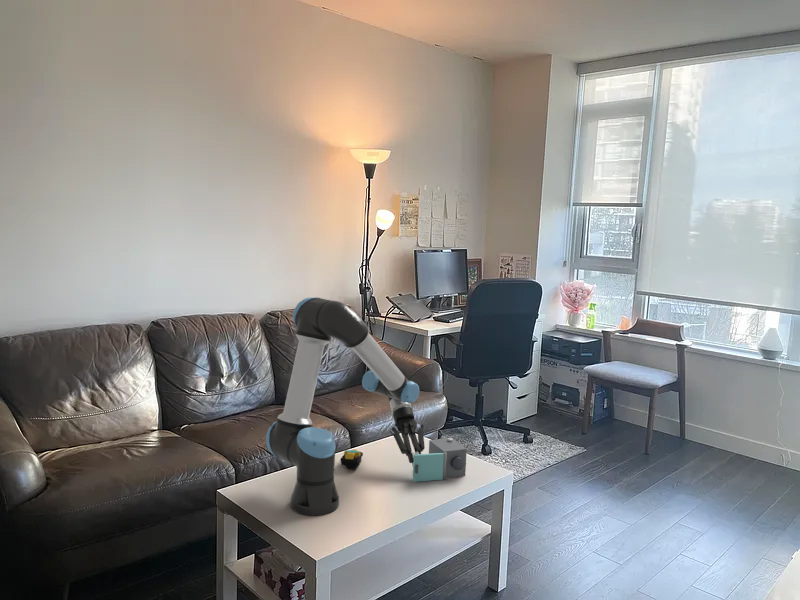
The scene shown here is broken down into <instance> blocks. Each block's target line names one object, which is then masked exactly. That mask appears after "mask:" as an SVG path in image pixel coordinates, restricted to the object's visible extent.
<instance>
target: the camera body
mask: <svg viewBox="0 0 800 600" xmlns="http://www.w3.org/2000/svg"><path fill="white" fill-rule="evenodd" d="M444 452H446V453H447V458H446V478H445V479H452V478H457V477H458V478H459V477H465V476H466V470H467V448H466V447H465V446H463V445H462V444H460V443H459V442H458V441H456V440H455V439H454V438H452V437H447V438H446V437H445V438H439V439H438V438H436V439H429V441H428V454H432V453H444Z"/></svg>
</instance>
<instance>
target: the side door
mask: <svg viewBox="0 0 800 600" xmlns="http://www.w3.org/2000/svg"><path fill="white" fill-rule="evenodd" d="M446 458H447V453H446V452H444V453H432V454H429V453H421V454H415V455H414V464H413V466H412V468H413V471H412V481H413V482H428V481H440V480H441V481H445V480H446V479H447V478H446Z"/></svg>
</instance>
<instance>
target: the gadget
mask: <svg viewBox="0 0 800 600" xmlns="http://www.w3.org/2000/svg"><path fill="white" fill-rule="evenodd" d="M363 456H364V452H362V451H360V450H358V449H356V448H354V449H350V450H349V449H346V450H344V453H343V455H342V456H341V457H340V460H339V461H340V466H343V467H345V468H346V469H355V468H357V467H359V466H360V464H361V463H362V457H363Z"/></svg>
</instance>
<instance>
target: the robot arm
mask: <svg viewBox="0 0 800 600" xmlns="http://www.w3.org/2000/svg"><path fill="white" fill-rule="evenodd" d="M292 322H293V323H294V326H295V327H296V331H295V337H296V338H297V339H298V344H297V347H296V353H295V358H294V361H293V366H292V371H291V375H290V381H289V385H288V389H287V394H286V397H285V401H284V408H283V412H282V413H280V414H278V415H277V418H276V421H274V422H273V423H272V425H270V426H269V428H268V429H267V432H266V434H265V443H266V448H267V450H268V451H269V452H270V453H271V454H272V455H274V456H275V458H277V459H279V460H281V461H284V462H286V463H288V464H290V465H292V466H295V467H296V482H295V485H294V487H293V491H292V494H291V497H290V508H291V509H292V511H294V512H295V513H298V514H300V515H303V516H323V515H326V514H330V513H332V512H334V511H335V510H337V509H338V507H339V505H340V496H339V493H338V490H337V486H336V483H335V462H336V461H335V460H336V442H335V436H334V435H333V433H332V432H331V431H329V430H327V429H325V428H322V427H315V426H314V427H313V421H312V419H311V417H310V414H311V409H312V405H313V401H314V397H315V396H314V395H315V392H316V386H317V381H318V378H319V372H320V368H321V364H322V360H323V359H322V358H323V354H324V349H325V346H326V345H328V344H329V343H330V342H331V339H332V338H333V339H335V340H337V341H339V342H341V343H342V344H343V346H345V348H348V349H352V351H353V352H354V353H355V354H356V355H357V356H358V357H359V359H361V361H362V362H363V363H364V364H365V365H366V367H368V369H369V370H368V371H366V372H365V373H364V374H363V376H362V380H361V385H362V387H363V389H364V390H365V391H368V392H370V393H375V394H378V395H381V396H385V397H387V398H388V402H389V406H390V410H391V412H392V418H393V420H394V426H393V427H391V429H390V430H389V433H390V434H391V435H392V436H393V438H394V440H395V442H396V444H397V446H398V448H399V451H400V453H401V454H402V455H405V456H406V457H407V459H408V462H409V464H412V467H413V464H414V455H415V454H422V452H423V451H424V450H425V448H426V447H425V439H424V438H425V437H424V428H425V425H424V424H423V423H422V424H420V423H418V422H417V420H416V419H415V414H414V410H413V408H412V403H414V402H416V401H417V399H418V398H419V395H420V386H419V385H418V384H417V383H416V382H414V381H413V380H408V378H406V376H405V375H404V374H403V372H402V371H401V370H400V369H399V367H398V366H397V365H396V364H395V363H394V362H393V360H392V359H391V358H390V356H388V355H387V353H386V352H385V351H384V350H383V348H382V347H381V346H380V344H378V342H377V341H376V339H374V338H373V336H372V335H371V334H370V328H369V326H368V325H367V324H366V322H364V321H363V319H362V318H361V317H360V316H359V315H358V314H357V313H356V312H355V311H354V310H353V309H352V308H350V307H349V305H346V304H345V303H343V302H341V301H338V300H330V299H325V298H321V297H306V298H303V299H302V300H301V301H299V302H298V303H297V304H296V306H295V308H294V310H293V314H292ZM416 431H417V435H416ZM410 440H411V442H410ZM411 444H412V446H411ZM412 447H413V449H412ZM412 450H414V451H412Z"/></svg>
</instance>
